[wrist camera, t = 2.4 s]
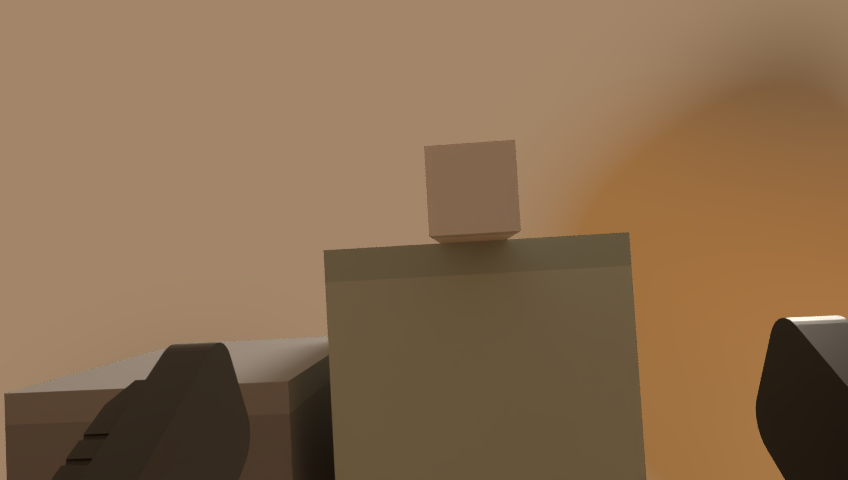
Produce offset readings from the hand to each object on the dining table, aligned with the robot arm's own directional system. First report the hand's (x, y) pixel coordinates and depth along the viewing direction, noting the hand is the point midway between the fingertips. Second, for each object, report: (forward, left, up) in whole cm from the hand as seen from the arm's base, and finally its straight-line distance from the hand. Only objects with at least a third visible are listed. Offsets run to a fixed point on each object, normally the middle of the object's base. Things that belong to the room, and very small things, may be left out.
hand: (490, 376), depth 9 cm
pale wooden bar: (-15, -15, +3) cm, 22 cm away
